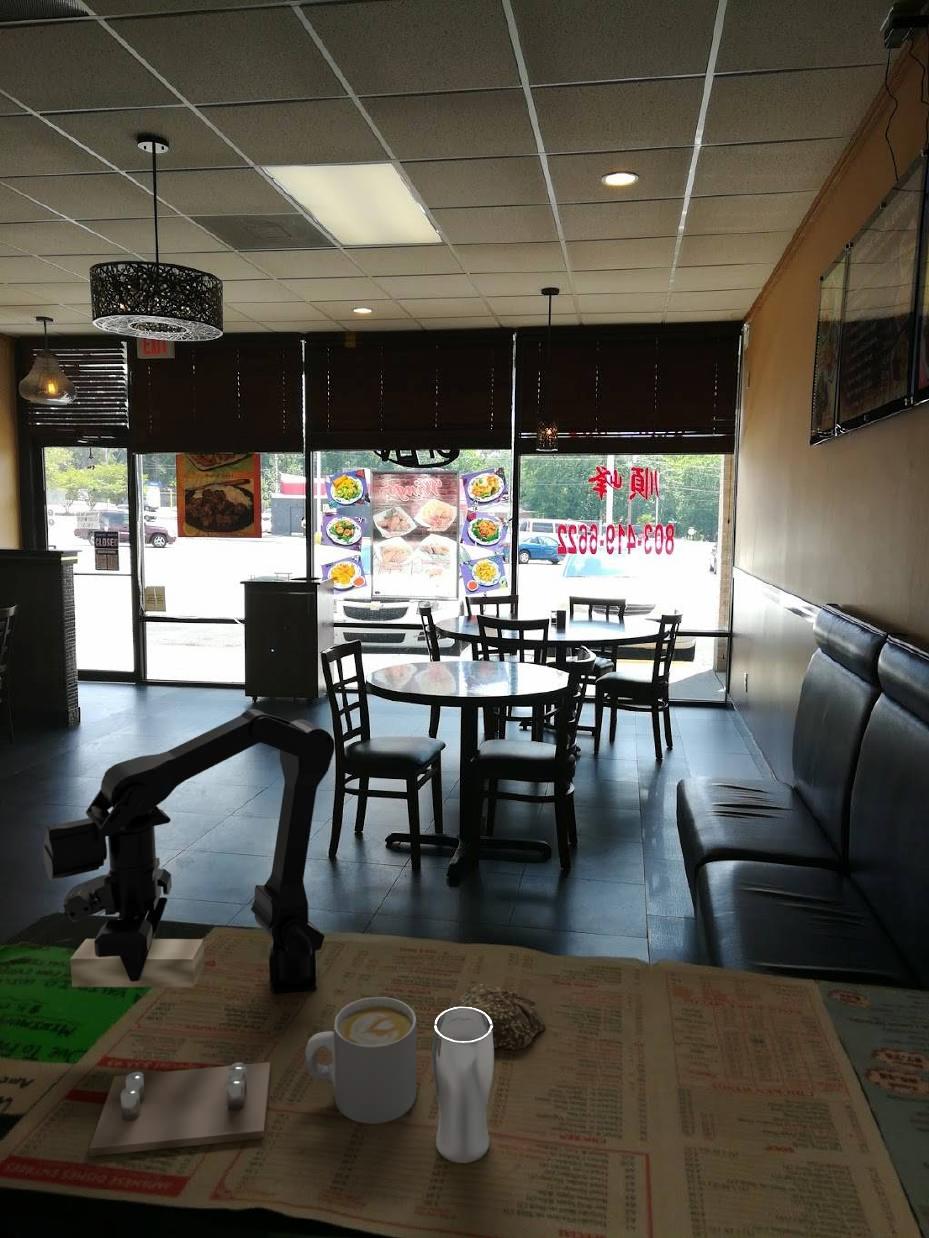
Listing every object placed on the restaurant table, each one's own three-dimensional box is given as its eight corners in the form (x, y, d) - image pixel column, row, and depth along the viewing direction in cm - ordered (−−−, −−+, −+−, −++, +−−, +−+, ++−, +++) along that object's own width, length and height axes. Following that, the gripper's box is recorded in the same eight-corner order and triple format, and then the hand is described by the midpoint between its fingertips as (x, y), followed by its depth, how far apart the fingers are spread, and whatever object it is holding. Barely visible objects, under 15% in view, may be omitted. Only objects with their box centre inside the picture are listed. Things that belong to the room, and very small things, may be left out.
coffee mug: (424, 1072, 113) (423, 1001, 112) (405, 1128, 104) (405, 1051, 102) (323, 1060, 115) (321, 989, 114) (296, 1114, 106) (294, 1038, 104)
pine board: (204, 966, 122) (203, 939, 121) (193, 987, 117) (192, 959, 116) (87, 965, 122) (86, 938, 121) (72, 986, 117) (70, 958, 116)
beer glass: (487, 1171, 97) (488, 1047, 95) (425, 1161, 99) (425, 1039, 96) (497, 1126, 104) (499, 1009, 102) (439, 1117, 105) (440, 1001, 103)
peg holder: (270, 1069, 114) (269, 1040, 113) (263, 1138, 102) (262, 1107, 101) (115, 1083, 111) (113, 1054, 110) (89, 1156, 99) (87, 1124, 98)
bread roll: (437, 1039, 120) (437, 1006, 119) (471, 991, 131) (471, 960, 131) (527, 1064, 115) (528, 1029, 115) (554, 1011, 127) (555, 979, 126)
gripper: (87, 834, 124) (94, 937, 127) (46, 897, 106) (55, 1015, 109) (169, 830, 126) (174, 931, 129) (143, 891, 108) (149, 1008, 110)
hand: (139, 968), depth 119 cm, fingers closed on pine board, 5 cm apart
